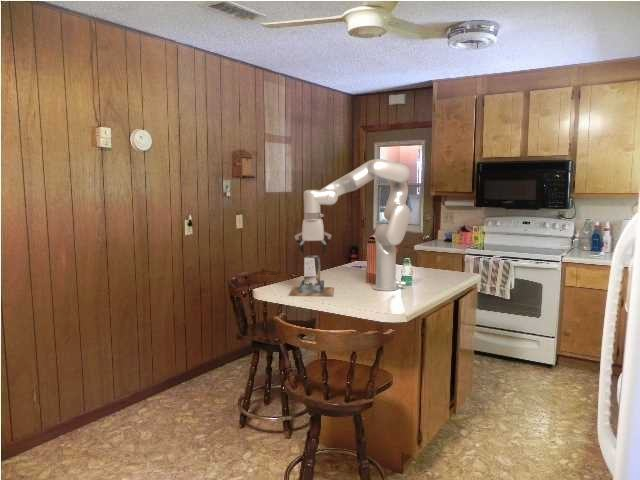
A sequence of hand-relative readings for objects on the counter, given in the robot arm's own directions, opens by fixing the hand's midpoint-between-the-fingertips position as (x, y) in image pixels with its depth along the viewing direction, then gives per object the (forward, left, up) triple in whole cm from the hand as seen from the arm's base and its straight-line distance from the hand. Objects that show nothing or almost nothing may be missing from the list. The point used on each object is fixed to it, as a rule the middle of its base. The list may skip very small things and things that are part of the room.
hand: (313, 253), depth 230 cm
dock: (+1, 0, -19) cm, 19 cm away
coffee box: (+1, 0, -18) cm, 18 cm away
